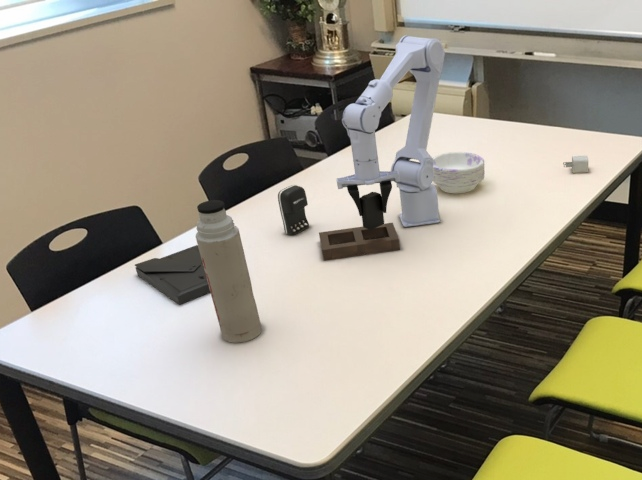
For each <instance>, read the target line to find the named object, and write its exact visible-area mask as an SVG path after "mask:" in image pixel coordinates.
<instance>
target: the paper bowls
mask: <svg viewBox="0 0 642 480" xmlns="http://www.w3.org/2000/svg"><path fill="white" fill-rule="evenodd" d="M432 158H433V160H434V164H433V172H434V178H433V181H432V183H433V184H435V185H437V186H438V187H439V189H440V190H442V191H443V192H445V193H449V194H464V193H469V192H472V191H474V190H475V188H476V187H477V186H478V185H479V184H480V183H481V182H483V181H484V179H485V175H486V174H485V173H486V172H485V160H484V157H482V156H480V155H479V154H476V153H472V152H465V151H451V152H444V153H440V154H438V155H435V156H433V157H432Z"/></svg>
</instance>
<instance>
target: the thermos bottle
mask: <svg viewBox="0 0 642 480" xmlns="http://www.w3.org/2000/svg"><path fill="white" fill-rule="evenodd" d="M225 207H226V203H225V202H224V201H222V200H219V199H211V200H206V201H203V202H201V203H199V204H198V205H197V211H198V218H199V220H198V221H197V222H196V223H195V225H196V231H197V232H196V233H195V240H196V245H198V248H199V251H200V255H201V259H202V263H203V266H204V270H205V274H206V277H207V281H208V285H209V289H210V296H211V300H212V304H213V306H214V310H215V314H216V318H217V322H218V326H219V329H220V334H221V336H222V339H223V340H225V341H226V342H229V343H235V344H236V343H245V342H249V341H252V340H253V339H255V338H257V337H258V336H259V335H260V334H261V333H262V331H263V330H262V329H263V328H262V324H261V320H260V315H259V311H258V306H257V302H256V299H255V296H254V291H253V286H252V280H251V277H250V272H249V268H248V263H247V258H246V255H245V251H244V246H243V241H242V238H241V233H240V230H239V229H240V228H238V226H236V225H235V223H234V219H233V217H232V216H230V215H228V214H227V211H226V209H225Z"/></svg>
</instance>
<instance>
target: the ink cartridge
mask: <svg viewBox="0 0 642 480" xmlns="http://www.w3.org/2000/svg"><path fill="white" fill-rule="evenodd" d="M360 204H361V209H362V214H363V216H361V221H362V227H364V228H367V229H369V230H372V229H374V228H376V227H378V226H381V225H383V224H385V216H384V213H383V209H382V197H381V193H380V192H378V191H377V192H376V191H371V192H369V193H366V194H363V195H361V196H360Z"/></svg>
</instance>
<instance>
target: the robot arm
mask: <svg viewBox="0 0 642 480" xmlns="http://www.w3.org/2000/svg"><path fill="white" fill-rule="evenodd" d="M445 56H446V52H445V49H444V47H443V44H442V42H441V40H439V39H438V38H435V37H434V38H428V37H419V36H411V35H408V34H405V35H403V36H401V38H400V39H399V41H398V43H396V44H395V54H394V56H393V58H392V59H391V61H390V62H389V64H388V65H387V68H386V69H385V71H384V72H383V73H382V75H381V77H380V78H379V79H378V78H375V79H373V80H370V81H369V82H368V85H367V86H366V88H365V90H363V92H362V93H361V94H360V95H359V97H358V98H357V100H356V101H355V103H354V102H353V103H350V104H348V105H347V106H346V107H345V108H344V110H343V113H342V118H341V123H342V125H343V127H344V129H346V133H347V136H348V138H349V140H350V147H351V153H352V161H353V162H352V163H353V168H354V169H353V170H354V174H351V175H350V174H349V175H347V176H344V177H337V178H335V180H336V187H337V190H342V189H344V188H346V189H347V192H348V194H349V196H350V198H351V199H352V200H353V202H354V204H355V206H356V208H357V210H358V215H359V217H362V216H363V214H362V209H361V204H360V197H361V196H360V191H359V186H372V185H376V184H379V189H380V194H381V197H382V209H383V214H387V208H388V207H387V206H388V202H389V201H388V200H389V197H390V194H391V192H392V189H393V184H392V182H394V183H395V184H396V188H398V189H399V198H400V206H401V208H400V209H401V213H399V214H398V216H399V219H400V222H401V224H402V227H404V228H409V227H417V226H423V225H431V224H439V223H441V220H440V210H439V198H438V191H437V187H436V184H435V183H433V178H434V172H433V164H434V160H433V157H432V156H431V154H430V153H429V152H428V150H427V149H428V143H429V139H430V132H431V127H432V122H433V117H434V111H435V106H436V101H437V94H438V90H439V83H440V78H441V77H442V72H443V67H444V62H445ZM408 72H409V73H410V74H412V75H413V76H414V79H415V81H416V83H415V88H414V94H413V100H412V106H411V110H410V117H409V122H408V129H407V134H406V139H405V145H404V146H403V147H402V148H401V149H398V150H397V152H396V153H395V157H394V160H393V162H392V164H391V166H390V171H389V170H388V171H385V170H384V171H380V163H379V154H378V146H377V138H376V130H377V129H378V127H379V125H380V120H381V119H380V118H381V117H382V112H383V111H384V109H385V108H386V107H387V105H388V104H389V103H390V101H391V100H392V99H393V96H394V93H393V89H394V88H395V87H396V86H397V85H398V83H400V81H401V80H402V79H403V78H404V77H405V75H406V74H408ZM414 160H416V161H414Z"/></svg>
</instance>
